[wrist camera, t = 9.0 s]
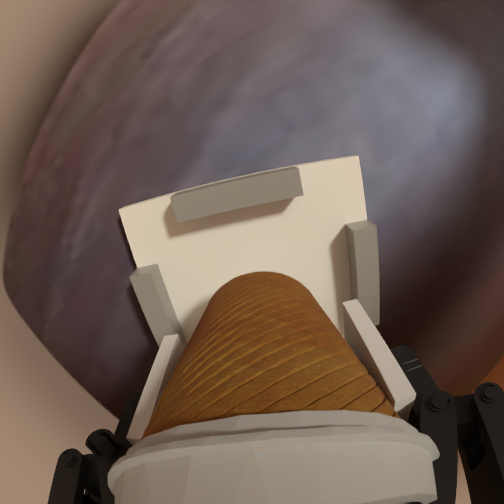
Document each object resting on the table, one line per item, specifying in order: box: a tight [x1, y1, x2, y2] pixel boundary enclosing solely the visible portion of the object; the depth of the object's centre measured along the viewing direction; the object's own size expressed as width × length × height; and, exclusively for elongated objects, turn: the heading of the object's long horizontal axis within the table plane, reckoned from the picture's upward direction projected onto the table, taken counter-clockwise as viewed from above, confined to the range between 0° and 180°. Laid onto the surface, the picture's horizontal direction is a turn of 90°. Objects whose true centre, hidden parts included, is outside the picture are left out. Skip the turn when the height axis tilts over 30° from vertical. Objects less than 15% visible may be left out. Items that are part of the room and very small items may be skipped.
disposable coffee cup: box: [108, 271, 440, 504], centre depth 10 cm, size 10×10×12 cm
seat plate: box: [119, 156, 380, 350], centre depth 19 cm, size 15×15×2 cm
